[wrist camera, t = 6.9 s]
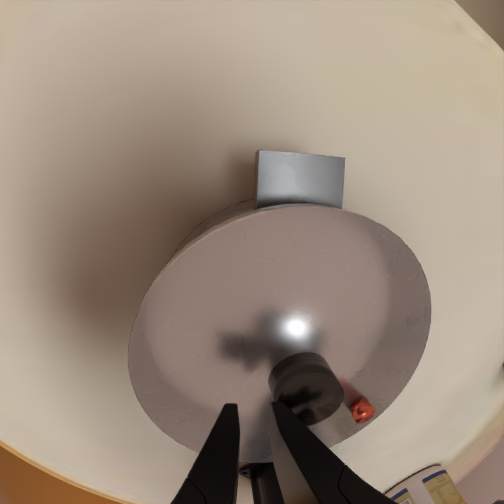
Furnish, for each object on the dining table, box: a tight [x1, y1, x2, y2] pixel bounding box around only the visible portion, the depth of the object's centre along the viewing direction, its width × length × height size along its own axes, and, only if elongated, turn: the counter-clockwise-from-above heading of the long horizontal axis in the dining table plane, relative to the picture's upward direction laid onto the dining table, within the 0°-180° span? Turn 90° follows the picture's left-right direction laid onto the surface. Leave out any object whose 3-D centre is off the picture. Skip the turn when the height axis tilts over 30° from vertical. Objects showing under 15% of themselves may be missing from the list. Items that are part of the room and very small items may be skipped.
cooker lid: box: [128, 203, 431, 463], centre depth 10 cm, size 13×13×3 cm
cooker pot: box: [174, 150, 345, 256], centre depth 14 cm, size 13×14×4 cm
